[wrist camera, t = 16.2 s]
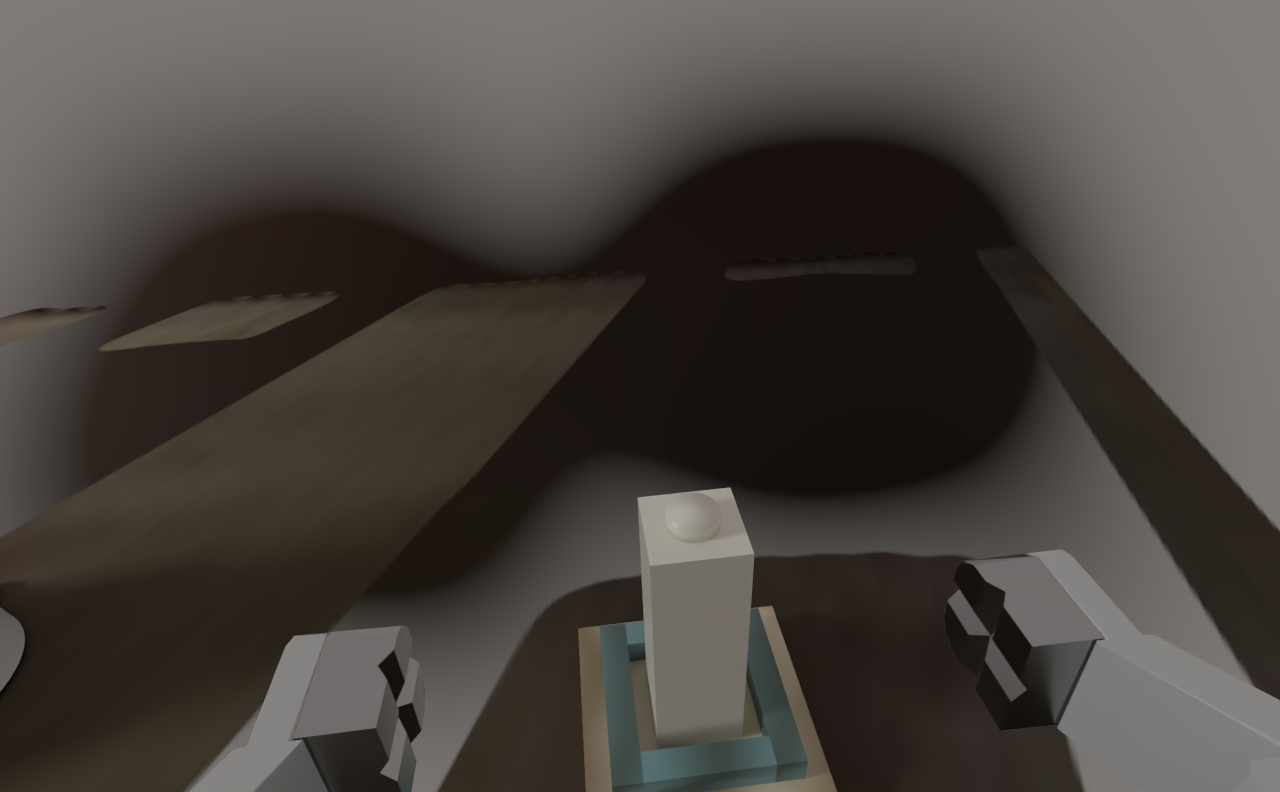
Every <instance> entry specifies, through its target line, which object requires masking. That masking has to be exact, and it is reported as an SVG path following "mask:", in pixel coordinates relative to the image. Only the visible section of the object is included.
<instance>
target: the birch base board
mask: <svg viewBox="0 0 1280 792" xmlns="http://www.w3.org/2000/svg"><path fill="white" fill-rule="evenodd" d="M578 632H579V654H580V675H581V697H582V718H583V739H584V761H585V782H586V792H837V790H836V787H835V784H834V782H833V779H832V776H831V773H830V770H829V767H828V764H827V762H826V759H825V756H824V753H823V750H822V747H821V744H820V742H819V739H818V736H817V733H816V730H815V727H814V724H813V722H812V719H811V716H810V713H809V710H808V707H807V704H806V702H805V699H804V696H803V693H802V690H801V687H800V684H799V682H798V679H797V676H796V673H795V670H794V667H793V664H792V661H791V659H790V656H789V653H788V650H787V647H786V644H785V641H784V639H783V636H782V633H781V630H780V627H779V624H778V621H777V619H776V616H775V613H774V610H773V607H772V606H768V607H759V608H751V611H750V626H749V641H748V656H747V671H746V686H745V701H744V716H743V731H742V738H737V739H730V740H723V741H716V742H708V743H701V744H694V745H686V746H679V747H672V748H664V749H657V742H656V735H655V728H654V722H653V715H652V708H651V701H650V695H649V688H648V681H647V672H646V653H645V633H644V621H638V622H629V623H620V624H612V625H603V626H594V627H586V628H578Z"/></svg>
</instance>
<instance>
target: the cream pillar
mask: <svg viewBox="0 0 1280 792" xmlns="http://www.w3.org/2000/svg"><path fill="white" fill-rule="evenodd" d="M638 514H639V534H640V553H641V574H642V593H643V613H644V633H645V653H646V672H647V681H648V688H649V695H650V701H651V708H652V715H653V722H654V728H655V735H656V742H657V749H664V748H672V747H679V746H686V745H694V744H701V743H708V742H716V741H723V740H730V739H737V738H742V731H743V716H744V701H745V686H746V671H747V656H748V641H749V626H750V611H751V596H752V581H753V566H754V552H753V549H752V546H751V544H750V541H749V538H748V535H747V532H746V530H745V527H744V524H743V522H742V519H741V516H740V513H739V510H738V508H737V505H736V502H735V499H734V497H733V494H732V491H731V488H722V489H713V490H703V491H694V492H684V493H675V494H667V495H656V496H647V497H638Z"/></svg>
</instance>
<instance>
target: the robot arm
mask: <svg viewBox="0 0 1280 792" xmlns="http://www.w3.org/2000/svg"><path fill="white" fill-rule="evenodd" d="M953 580H954V582H955V583H956V585H957V586H958V588H959V590H958V591H957V592H956V593H955V594H954V595H953V596H952V597H951V598H950V599H949V600H948V601H947V605H946V609H945V614H944V621H945V629H946V635H947V638H948V641H949V643H950V646H951V649H952V650H953V652H954V654H955V656H956V657H957V659H958V661H959V663H960V664H961V665H963V666H964V667H966V668H967V669H969V670H970V671H972V672H974V673H975V674H977V675H978V677H977V683H976V689H975V690H976V692H977V693H978V695H979V697H980V698H981V700H982V702H983V703H984V705H985V707H986V708H987V710H988V712H989V713H990V715H991V717H992V718H993V720H994V722H995V723H996V725H997V727H998V728H999V730H1000V731H1004V730H1013V729H1023V728H1033V727H1042V726H1052V725H1058V727H1057V728H1058V729H1059V730H1060V731H1061V732H1063V733H1064V734H1065V735H1067V736H1068V737H1069V738H1070V739H1072V740H1073V741H1074V742H1075V743H1077V744H1078V745H1079V746H1081V747H1082V748H1083V749H1084V750H1086V751H1087V752H1088V753H1090V754H1091V755H1092V756H1093V757H1095V758H1096V759H1097V760H1098V761H1100V762H1101V763H1102V764H1103V765H1105V766H1106V767H1107V768H1109V769H1110V770H1111V771H1112V772H1114V773H1115V774H1116V775H1118V776H1119V777H1120V778H1121V779H1122V780H1124V781H1125V782H1126V783H1128V784H1129V785H1130V786H1131V787H1133V788H1134V789H1135V790H1137V791H1138V792H1280V700H1278V699H1276V698H1274V697H1272V696H1270V695H1268V694H1266V693H1264V692H1263V691H1261V690H1259V689H1257V688H1255V687H1253V686H1251V685H1249V684H1247V683H1245V682H1243V681H1241V680H1239V679H1238V678H1236V677H1234V676H1232V675H1230V674H1228V673H1226V672H1224V671H1222V670H1221V669H1218V668H1217V667H1215V666H1213V665H1211V664H1209V663H1207V662H1205V661H1203V660H1201V659H1200V658H1198V657H1196V656H1194V655H1192V654H1190V653H1188V652H1186V651H1184V650H1182V649H1180V648H1178V647H1177V646H1175V645H1173V644H1171V643H1169V642H1167V641H1165V640H1163V639H1161V638H1159V637H1157V636H1156V635H1154V634H1148V635H1142V634H1141V633H1140V631H1139V630H1138V629H1137V628H1136V627H1135V626H1134V625H1133V624H1132V622H1131V621H1130V620H1129V619H1128V618H1127V617H1126V616H1125V615H1124V614H1123V612H1121V610H1120V609H1119V608H1118V607H1117V606H1116V605H1115V604H1114V602H1113V601H1112V600H1111V599H1110V598H1109V597H1108V596H1107V595H1106V593H1104V591H1103V590H1102V589H1101V588H1100V587H1099V586H1098V585H1097V583H1096V582H1095V581H1094V580H1093V579H1092V578H1091V577H1090V576H1089V575H1088V573H1087V572H1086V571H1085V570H1084V569H1083V568H1082V567H1081V566H1080V564H1079V563H1078V562H1077V561H1076V560H1075V559H1074V558H1073V557H1072V556H1071V555H1070V554H1069V553H1067V552H1065V551H1063V550H1053V551H1044V552H1036V553H1028V554H1016V555H1009V556H1000V557H992V558H984V559H976V560H968V561H963V562H962V563H961V564H960V565H959V566H958V567H957V569H956V572H955V575H954V579H953ZM412 643H413V642H412V639H411V636H410V633H409V631H408V628H407V627H406V626H394V627H383V628H372V629H360V630H348V631H338V632H330V633H320V634H309V635H299V636H294V637H293V638H292V639H291V641H290V642H289V643H288V644H287V645H286V647H285V649H284V652H283V654H282V657H281V659H280V662H279V664H278V667H277V670H276V672H275V675H274V677H273V680H272V682H271V685H270V688H269V690H268V693H267V695H266V698H265V700H264V703H263V706H262V708H261V711H260V713H259V716H258V718H257V721H256V724H255V727H254V729H253V732H252V734H251V737H250V739H249V742H248V744H247V746H244V747H237V748H234V750H232V751H231V752H230V753H229V754H228V755H227V756H226V757H225V758H224V759H223V760H222V761H221V762H220V763H219V764H218V765H217V766H216V767H215V768H214V769H213V770H212V771H210V772H209V773H208V774H207V775H206V776H205V777H204V778H203V779H202V780H201V781H200V782H199V783H198V784H197V785H196V786H195V787H194V788H193V789H192V790H191V791H190V792H411V789H412V784H413V777H414V772H415V766H416V759H415V756H414V753H413V750H412V747H411V742H412V741H413V740H414V739H415V738H416V736H417V735H418V734H419V733H420V732H421V730H422V723H423V716H424V698H425V689H424V681H423V674H422V671H421V667H420V664H419V662H417V661H416V660H414V659H413V658H411V657H410V653H411V648H412ZM24 644H25V635H24V630H23V628H22V626H21V624H20V622H19V621H18V620H17V619H16V618H15V617H13V616H12V615H10V614H9V613H8V612H6V611H5V610H4V609H2V608H1V607H0V692H1V690H2V689H3V688H4V686H5V685H6V684H7V682H8V681H9V679H10V678H11V676H12V675H13V673H14V671H15V669H16V668H17V666H18V664H19V661H20V659H21V656H22V653H23V650H24Z"/></svg>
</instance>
